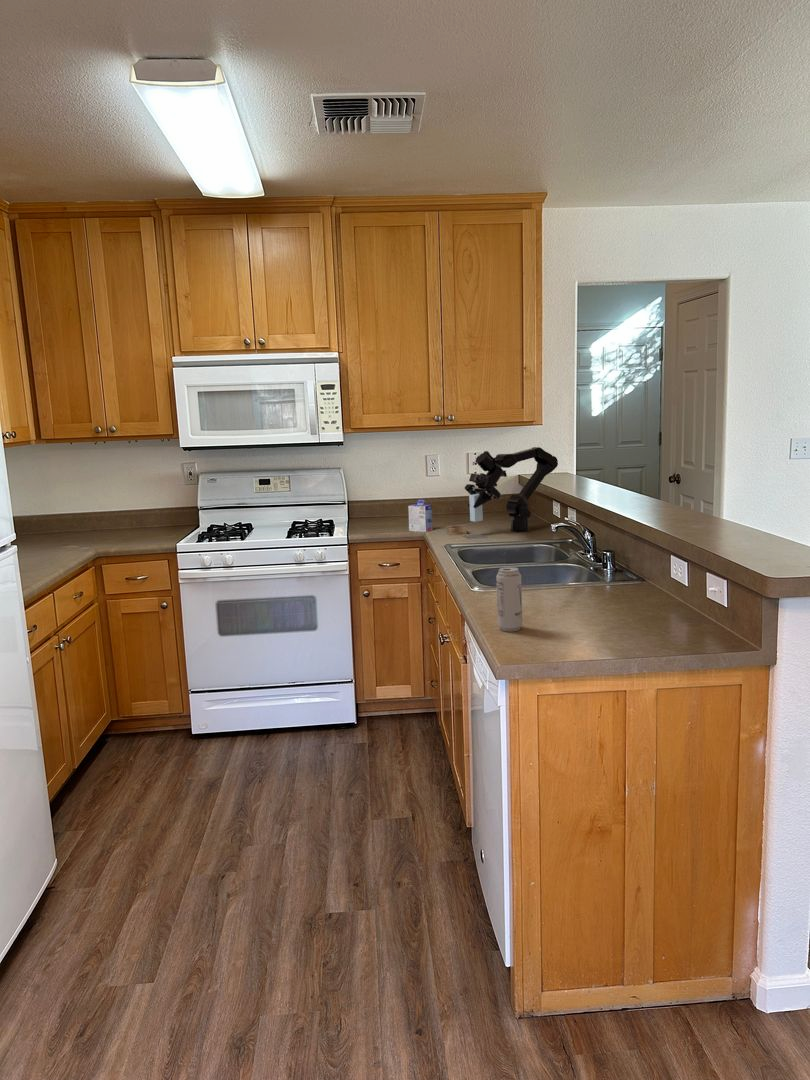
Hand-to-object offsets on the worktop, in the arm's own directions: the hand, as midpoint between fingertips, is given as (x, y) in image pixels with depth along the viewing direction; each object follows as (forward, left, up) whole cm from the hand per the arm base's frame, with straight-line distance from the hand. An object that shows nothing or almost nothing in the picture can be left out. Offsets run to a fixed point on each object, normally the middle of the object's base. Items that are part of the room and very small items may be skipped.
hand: (471, 507), depth 315 cm
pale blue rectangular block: (-2, -1, -6) cm, 6 cm away
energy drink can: (+30, +131, -13) cm, 135 cm away
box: (+4, -11, -13) cm, 18 cm away
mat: (-1, 0, -13) cm, 13 cm away
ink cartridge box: (+16, -28, -13) cm, 35 cm away
